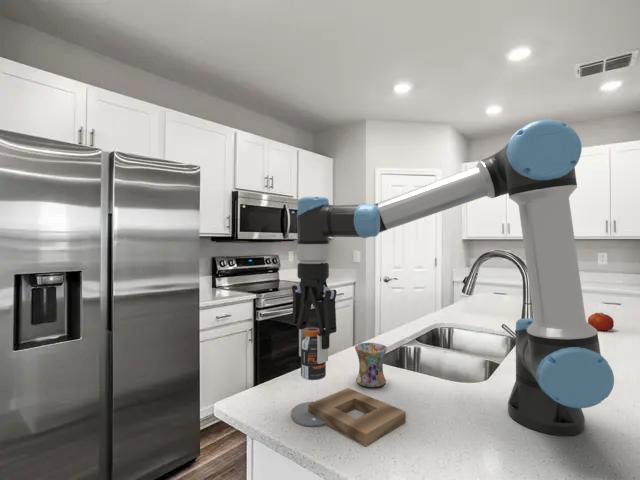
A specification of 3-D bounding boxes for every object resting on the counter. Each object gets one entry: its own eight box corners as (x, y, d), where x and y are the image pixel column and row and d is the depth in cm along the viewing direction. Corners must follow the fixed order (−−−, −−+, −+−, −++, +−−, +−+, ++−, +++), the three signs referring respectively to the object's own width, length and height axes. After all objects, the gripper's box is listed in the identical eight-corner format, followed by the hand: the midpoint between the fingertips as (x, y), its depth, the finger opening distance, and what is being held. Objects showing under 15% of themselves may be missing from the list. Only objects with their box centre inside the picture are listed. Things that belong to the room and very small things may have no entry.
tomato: (582, 328, 167) (582, 310, 167) (600, 327, 168) (600, 310, 168) (600, 333, 158) (600, 315, 158) (619, 332, 159) (619, 314, 159)
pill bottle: (307, 382, 82) (307, 333, 82) (296, 374, 87) (296, 328, 87) (330, 378, 85) (329, 330, 85) (318, 370, 90) (318, 325, 90)
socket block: (405, 422, 82) (405, 411, 82) (365, 446, 73) (365, 434, 73) (348, 397, 95) (348, 387, 95) (308, 414, 86) (308, 404, 86)
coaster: (346, 415, 86) (346, 412, 86) (311, 432, 78) (311, 429, 78) (315, 400, 94) (315, 397, 94) (281, 414, 86) (281, 411, 86)
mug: (393, 386, 102) (393, 349, 102) (365, 392, 98) (364, 353, 98) (371, 372, 113) (371, 338, 113) (345, 377, 110) (345, 342, 109)
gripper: (353, 263, 81) (353, 365, 82) (300, 259, 95) (300, 346, 96) (329, 264, 76) (329, 373, 76) (277, 260, 90) (277, 352, 90)
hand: (313, 358), depth 86 cm, fingers closed on pill bottle, 6 cm apart
